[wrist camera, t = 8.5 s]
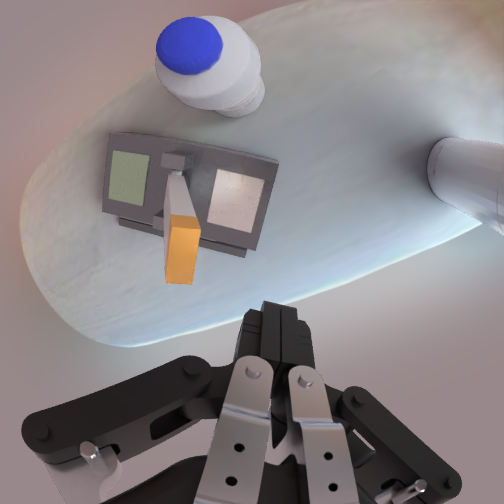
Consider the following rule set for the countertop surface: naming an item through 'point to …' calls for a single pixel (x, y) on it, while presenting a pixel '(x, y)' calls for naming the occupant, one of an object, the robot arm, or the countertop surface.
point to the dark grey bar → (202, 241)
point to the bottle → (210, 65)
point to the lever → (179, 231)
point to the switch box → (189, 184)
